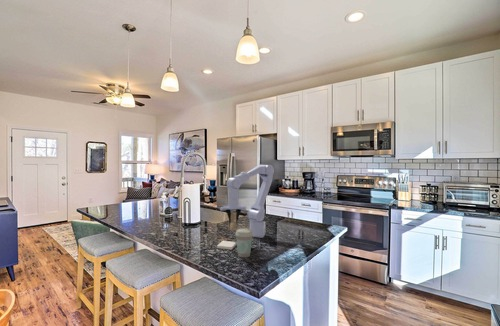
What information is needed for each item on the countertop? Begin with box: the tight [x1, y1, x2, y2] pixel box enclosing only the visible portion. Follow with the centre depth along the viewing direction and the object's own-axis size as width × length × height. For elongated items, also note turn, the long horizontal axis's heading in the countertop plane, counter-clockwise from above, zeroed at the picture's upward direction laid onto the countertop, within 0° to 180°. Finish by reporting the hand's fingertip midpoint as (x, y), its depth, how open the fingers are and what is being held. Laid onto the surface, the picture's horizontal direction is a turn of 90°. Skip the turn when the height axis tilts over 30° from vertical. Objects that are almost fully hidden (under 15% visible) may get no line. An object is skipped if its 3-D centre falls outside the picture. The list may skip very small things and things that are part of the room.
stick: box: [229, 211, 237, 231], centre depth 137 cm, size 3×3×10 cm
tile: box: [216, 240, 237, 250], centre depth 129 cm, size 8×2×8 cm
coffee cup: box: [234, 227, 253, 258], centre depth 117 cm, size 9×8×12 cm
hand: (233, 222), depth 138 cm, fingers closed on stick, 3 cm apart
